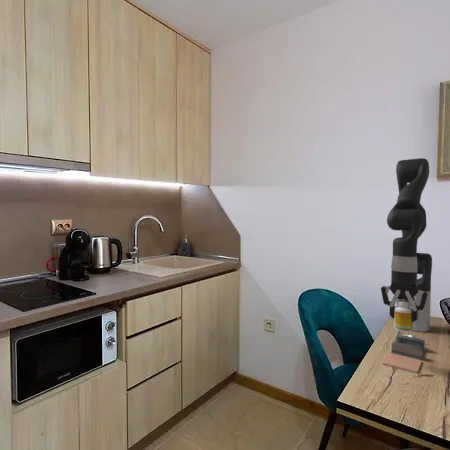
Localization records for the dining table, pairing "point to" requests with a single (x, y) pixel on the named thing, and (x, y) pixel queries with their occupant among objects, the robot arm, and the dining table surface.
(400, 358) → the terracotta tile
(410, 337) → the bench vise
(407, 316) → the supplement bottle
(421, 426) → the dining table surface
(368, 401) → the dining table surface
